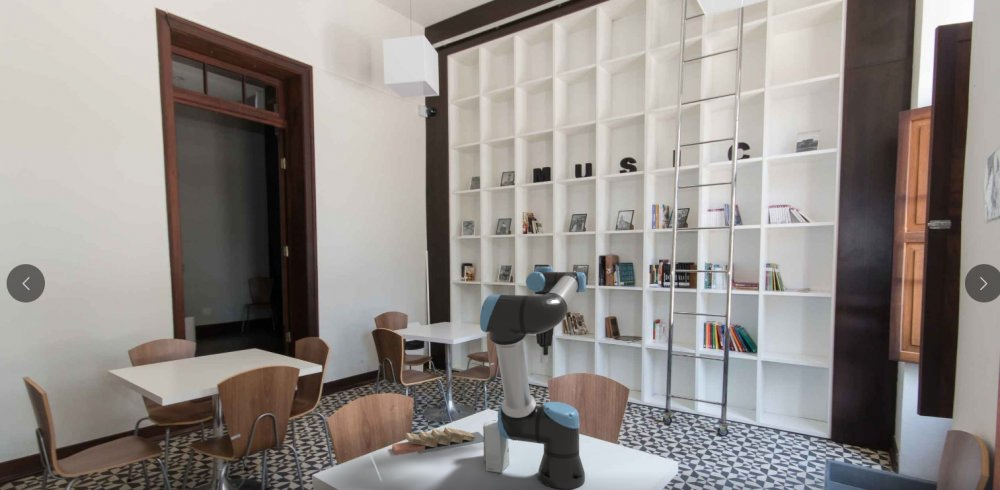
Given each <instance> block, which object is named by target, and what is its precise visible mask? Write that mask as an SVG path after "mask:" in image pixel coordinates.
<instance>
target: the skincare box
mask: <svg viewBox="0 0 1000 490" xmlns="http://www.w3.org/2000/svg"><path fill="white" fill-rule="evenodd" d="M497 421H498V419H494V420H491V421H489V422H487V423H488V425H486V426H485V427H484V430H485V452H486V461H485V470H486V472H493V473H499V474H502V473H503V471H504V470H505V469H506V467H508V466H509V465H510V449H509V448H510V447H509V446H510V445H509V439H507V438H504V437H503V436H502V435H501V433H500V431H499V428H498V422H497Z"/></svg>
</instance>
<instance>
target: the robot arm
mask: <svg viewBox="0 0 1000 490" xmlns="http://www.w3.org/2000/svg"><path fill="white" fill-rule="evenodd" d="M525 285H526V287H527V288H528V290H530V291H531V292H534V295H523V294H521V295H519V294H502V293H500V294H490V295H488V296H486V298H485V299H484V301H483V303H482V306H481V310H480V315H479V328H480V330H481V331H482V332H484V333H488V337H489V340H490V342H492V344H494V345H495V349H496V355H497V359H498V366H499V372H500V377H501V384H502V389H503V390H502V391H503V395H504V396H503V397H504V399H503V401H502V403H500V405H499V408H498V410H497V420H498V421H497V422H498V428H499V431H500V433H501V435H502V436H503V437H504V438H507V439H508V440H511V441H518V442H527V443H533V444H540V445H543V454H542V458H541V461H540V463H539V466H538V473H537V474H538V475H537V476H538V477H537V478H538V480H539V481H540V483H542V484H543V485H545V486H547V487H550V488H553V489H559V490H571V489H576V488H579V487H581V486H583V484H584V483H585V480H586V474H585V468H584V465H583V463H582V459H581V456H580V427H581V424H580V414H579V411H578V410H577V408H575V407H574V406H572V405H570V404H568V403H564V402H560V401H547V402H545V403H544V404H543V406H541V405H537V402H536V401H537V400H536V399H535V397H534V396H532V394H531V390H530V383H529V377H528V370H527V362H526V355H525V354H526V353H525V348H524V341H523V340H525V338H526V337H527V335H530V336H531V335H535V336H536V344H537V345H539V358H540V359H539V363H540V364H549V360H548V359H549V347H551V346H552V344H553V336H554V329H555V327H557V325H559V324H560V323H562V322H563V320H564V319H565V318H566V316H567V314H568V306H569V304H570V303H571V301H572V299H573V297H574V296H575V294H576V293H577V294H578V293H584V292H585V291H586V288H587V276H586V274H585V272H581V271H580V272H578V271H554V269H553V267H552V266H536V267H535V268H534V271H533V272H531V273H528V275H527V276H526V280H525Z"/></svg>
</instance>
